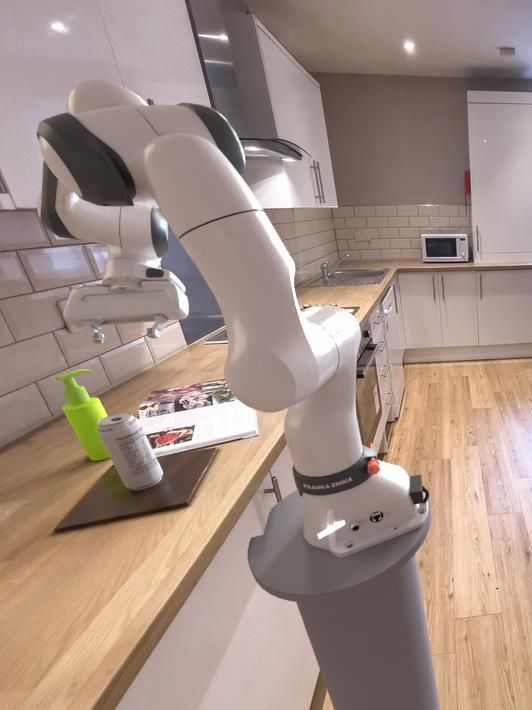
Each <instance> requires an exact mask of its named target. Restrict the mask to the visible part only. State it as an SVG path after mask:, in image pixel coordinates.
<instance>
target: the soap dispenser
mask: <svg viewBox="0 0 532 710" xmlns="http://www.w3.org/2000/svg"><path fill="white" fill-rule="evenodd" d="M92 372H93V369H90V368H83V369H76V370H71V371H67V372H65V373H62V374H59V375H56V376H55V379H56V380H57V381H61V382H63V384H64V386H65V388H64V389H63V390H62V394H63V396H64V398H65V399H66V401H67V403H66V404H64V405H62V407H61V409H62V411H63V413H64V415H65V417H66V419H67V421H68V422H69V425H70V426H71V428H72V429H73V432H74V433H75V435H76V436H77V439H78V440H79V442H80V444H81V447H83V450H84V451H85V453H86V454H87V455H86V456H87V457H88V458H89V460H90V461H94V462H98V461H103V460H107V459H111V458H110V456H109V454H108V452H107V450H106V448H105V447H104V445H103V443H102V441H101V439H100V437H99V435H98V433H97V431H98V427H99V425H98V421H99V420H101V419H103V418H105V417H107V416H108V414H107V412H106V410H105V407H104V406H103V404H102V402H101V399H100V398H99V397H96V396H95V397H94V396H93V397H90V395H89V394H88V391H87V389H86V388H85V386H84V385H80V384H78V383H77V381H76V380H75V377H76V376H79V375H84V374H90V373H92Z"/></svg>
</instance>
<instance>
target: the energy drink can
mask: <svg viewBox="0 0 532 710" xmlns="http://www.w3.org/2000/svg"><path fill="white" fill-rule="evenodd" d="M98 425H99V427H98V431H97V433H98V435H99V437H100V439H101V441H102V443H103V445H104V447H105V448H106V450H107V452H108V454H109V456H110V458H109V459H110V460H111V462H112V465H114V466H115V467H116V469H117V471H118V473H119V475H120V477H121V479H122V481H123V483H124V485H125V486H126V487H127V488H131V489H132V490H143V489H146V488H149V487H151V486H153V485H155V484H157V483H158V482H159V481H160V480H161V478H162V477H161V476H162V475H163V471H162V469H161V466H160V464H159V462H158V460H157V455H156V454H155V451H154V450H153V447H152V445H151V443H150V440H149V439H148V436H147V435H146V432H145V430H144V428H143V426H142V424H141V422H140V420H139V419H138V418H137V417H135V416H133V415H132V413H131V412H127V411H125V412H118V413H113V414H110V415H107V417H105V418H103V419H101V420H99V421H98Z"/></svg>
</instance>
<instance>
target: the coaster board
mask: <svg viewBox="0 0 532 710" xmlns="http://www.w3.org/2000/svg"><path fill="white" fill-rule="evenodd" d="M218 452H219V447H218V446H216V447H209V448H204V449H198V450H193V451H187V452H180V453H174V454H168V455H163V456H156V458H157V460H158V462H159V464H160V466H161V469H162V471H163V475H162V476H161V477H162V478H161V480H160V481H159V482H158V483H157V484H155V485H153V486H151V487H149V488H146V489H143V490H132V489H131V488H127V487H126V486H125V485H124V483H123V481H122V479H121V477H120V475H119V473H118V471H117V469H116V467H115V466H114V464H112V465H110V467H108V469H107V470H106V471H105V472H104V473H103V474H102V476H100V478H99V479H98V480H97V481H96V482H95V483H94V484H93V485H92V486H91V487H90V489H89V490H87V492H86V493H85V494H84V495H83V496H82V497H81V498H80V500H79V501H78V502H77V503H76V504H75V505H74V506H73V507H72V508H71V510H70V511H68V513H67V514H66V515H65V516H64V517H63V518H62V519H61V520H60V521H59V522H58V524H57V525H56V526H55V527H54V528H53V531H54V533H61V532H67V531H70V530H76V529H80V528H86V527H91V526H94V525H99V524H105V523H109V522H115V521H120V520H124V519H130V518H135V517H140V516H144V515H149V514H154V513H159V512H163V511H168V510H173V509H178V508H182V507H187V506H190V504H191V502H192V500H193V498H194V496H195V495H196V493H197V491H198V489H199V487H200V486H201V484H202V481H203V480H204V478H205V476H206V475H207V472H208V470H209V469H210V467H211V465H212V463H213V461H214V459H215V458H216V456H217V454H218Z"/></svg>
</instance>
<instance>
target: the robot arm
mask: <svg viewBox="0 0 532 710" xmlns="http://www.w3.org/2000/svg"><path fill="white" fill-rule="evenodd" d="M35 134H36V137H37V140H38V142H39V146H40V147H39V149H40V152H41V155H42V157H43V161H42V180H41V190H40V192H39V194H38V196H37V201H36V211H37V216H38V218H39V220H40V223H41V224H42V225H43V226H44V227H45V228H46V229H47V230H48V231H50V232H51V233H52V234H53V235H55V236H57V237H58V238H60V239H61V238H62V239H70V240H75V241H85V242H86V241H87V242H92V243H97V244H103V245H106V251H107V255H108V256H107V258H106V260H105V261H104V264H103V265H104V266H103V272H102V273H103V274H102V279H101V283H92V284H80V285H79V286H77V287H75V288H72V289H71V290H70V293H69V296H68V298H67V301H66V303H65V307H64V310H63V315H62V317H63V318H64V319H65V321H67V322H68V323H70V324H71V325H73V326H74V327H77V328H86V329H87V331H88V332H89V333H90V338H89V340H90V342H92V343H93V344H95V345H97V344H105V343H106V340H107V336H106V334H103V333H102V332H101V331H100V330H102V326H115V325H116V326H117V325H128V324H141V323H153V322H154V323H153V325H152V326H151V327H147V328H146V337H147V338H149V339H150V340H154V339H157V340H158V339H160V338H161V332H163V330H164V329H165V328H166V327H167V325H168V322H169V321H180V320H185V319H186V318H187V317H188V316H189V312H190V305H189V298H188V295H186V294H185V293H186V286H185V285H184V284H183V282H182V281H181V280H180V279H179V278H178V277H177V276H176V275H175V274H174V273H173V272H171V270H168V269H164V268H160V267H159V265H160V263H161V262H162V257H163V256H165V255H166V254H167V253H168V252H169V249H170V248H169V247H170V246H169V239H170V233H171V231H172V232H173V234H174V235H175V237H176V238H177V240H178V241H179V244H180V245H181V246H182V247H183V249H184V250H185V252H186V253H187V255H188V256H189V258H190V259H191V261H192V262H193V264H194V265H195V267H196V268H197V270H198V271H199V273H200V274H201V276H202V278H203V279H204V281H205V283H206V284H207V286H208V287H209V288H210V290H211V292H212V294H213V296H214V297H215V300H216V302H217V303H218V306H219V310H220V313H221V315H222V318H223V322H224V325H225V330H226V336H227V355H226V359H225V362H224V365H223V375H224V380H225V384H226V385H227V387H228V389H229V391H230V392H231V394H232V395H233V396H234V397H235V398H236V399H237V401H239V402H240V403H242V404H243V405H245V406H247V407H248V408H250V409H252V410H255V411H257V412H261V413H269V414H270V413H272V414H273V413H278V412H282V411H284V410H286V413H285V416H284V419H283V433H284V436H285V440H286V444H287V446H288V450H289V453H290V457H291V460H292V463H293V464H292V465H293V466H292V468H291V469H292V477H293V481H294V484H295V487H296V490H298V491H299V494H300V496H302V501H303V509H304V526H303V535H304V538H305V540H306V541H307V542H308V543H309V544H311V545H312V546H314V547H317V548H321V549H326V550H329V551H330V552H331V553H332V554H334V555H335V556H336V557H339V558H343V557H347V556H349V555H352V554H354V553H357V552H359V551H362V550H364V549H367V548H369V547H372V546H374V545H377V544H379V543H382V542H384V541H387V540H389V539H392V538H394V537H397V536H399V535H402V534H404V533H407V532H409V531H412V530H414V529H417V528H419V527H421V526H423V525H424V523H425V521H426V519H427V517H428V511H429V506H428V498H430V492H429V490H428V488H427V487H425V486H424V482H423V475H422V474H415V475H409V474H408V473H407V471H406V470H405V469H404V468H403V467H402V466H400V465H397V464H392V463H390V462H386V461H383V460H379V459H378V456H377V452H376V450H375V447H374V445H373V443H372V442H370V447H368V446H365V444H362V438H361V433H360V428H359V423H358V417H357V407H356V406H357V405H356V404H357V403H356V395H357V394H356V392H357V391H356V390H357V361H358V360H357V359H358V352H359V348H360V346H361V345H360V344H361V341H362V330H361V326H360V324H359V322H358V320H357V319H356V318H355V317H354V315H353V314H352V313H350V312H349V311H348V310H347V309H345V308H343V307H341V306H338V305H332V304H328V305H327V304H326V305H325V304H324V305H316V306H315V305H314V306H309V307H306V308H304V309H302V310H301V307H300V305H299V301H298V298H297V295H296V290H295V276H296V264H295V261H294V259H293V258H292V256H291V255H290V252H289V251H288V250H287V247H286V246H285V244H284V243H283V241H282V239H281V237H280V235H279V234H278V232H277V231H276V229H275V227H274V225H273V224H272V222H271V220H270V218H269V217H268V214H267V213H266V212H265V210H264V208H263V207H262V205H261V203H260V201H259V200H258V198H257V197H256V195H255V194H254V193H253V191H252V189H251V188H250V187H249V185H248V184H247V182H246V181H245V179H244V178H243V175H244V173H245V170H246V162H247V161H246V156H245V151H244V148H243V145H242V143H241V140H240V137H239V136H238V134H237V133H236V130H235V129H234V127H233V126H232V124H231V123H230V121H228V119H227V118H226V117H225V116H224V115H223V114H221V113H220V112H218V111H217V110H216V109H215V108H213V107H211V106H208V105H204V104H199V103H193V102H180V103H178V104H147V103H146V102H145V101H144V99H142V97H140V96H139V95H137V94H136V93H135V92H133V91H132V90H131V89H129V88H127V87H125V86H123V85H121V84H119V83H115V82H112V81H109V80H105V79H104V80H103V79H88V80H83V81H80V82H78V83H76V84H75V85H74V86H73V87H72V88H71V89H70V91H69V92H68V95H67V98H66V104H65V112H63V113H59V114H55V115H52V116H50V117H47V118H45V119H43V120H41V121H39V122H38V126H37V130H36V133H35ZM147 201H154V202H155V204H156V205H157V207H156V206H154V205H151V204H148V203H145V202H147ZM408 475H409V476H410V477H409V476H408ZM350 547H351V548H350Z"/></svg>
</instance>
